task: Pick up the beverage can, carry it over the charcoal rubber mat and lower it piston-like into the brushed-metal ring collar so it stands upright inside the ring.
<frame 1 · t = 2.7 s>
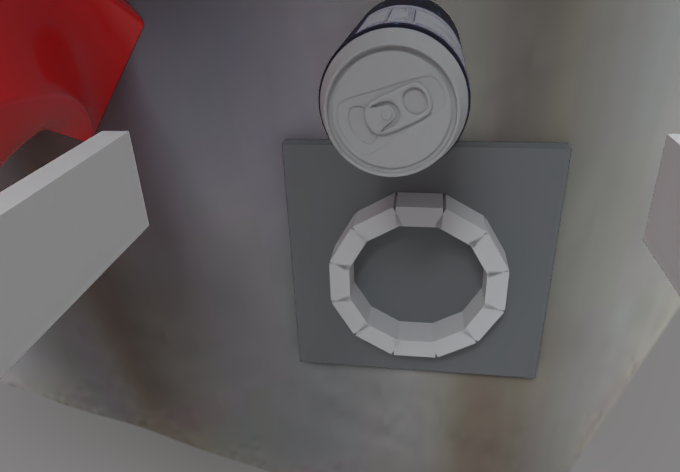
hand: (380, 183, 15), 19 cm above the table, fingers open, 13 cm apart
vase: (38, 26, 34), on the table
ring seat: (418, 261, 37), on the table
beverage can: (406, 50, 31), on the table
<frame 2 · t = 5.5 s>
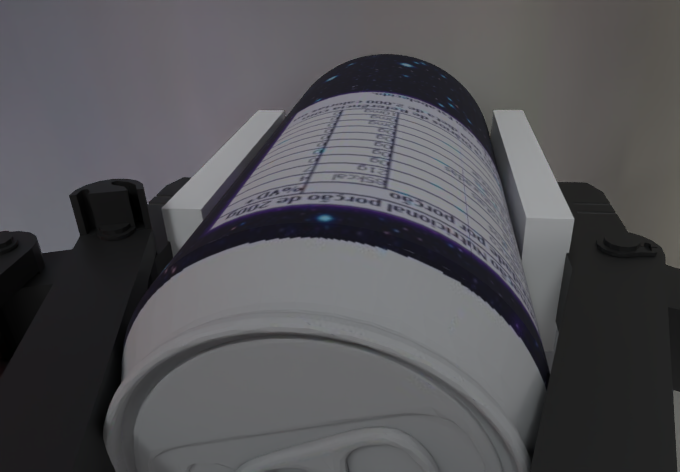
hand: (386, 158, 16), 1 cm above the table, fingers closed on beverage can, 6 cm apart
beverage can: (388, 146, 17), on the table, touching gripper
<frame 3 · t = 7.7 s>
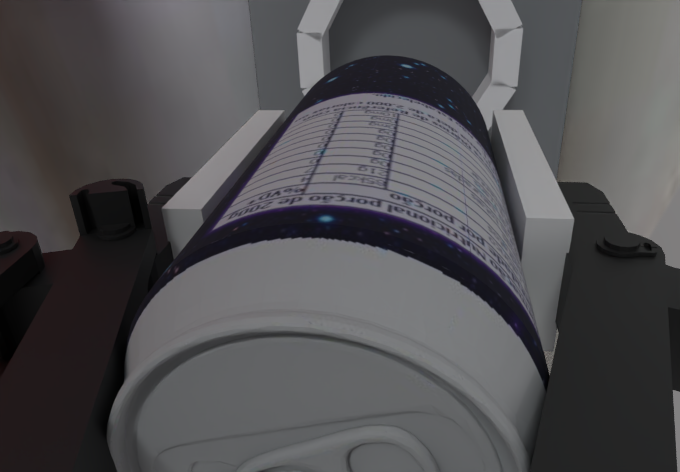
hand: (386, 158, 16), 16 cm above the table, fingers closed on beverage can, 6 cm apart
ring seat: (408, 47, 30), on the table
beverage can: (388, 146, 17), point 15 cm above the table, touching gripper
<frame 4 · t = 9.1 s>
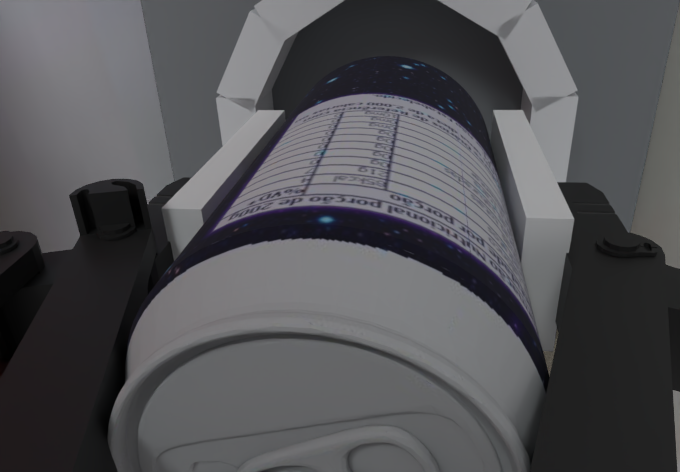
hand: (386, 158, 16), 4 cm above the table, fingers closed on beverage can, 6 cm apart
ring seat: (395, 112, 20), on the table
beverage can: (389, 147, 17), point 3 cm above the table, touching gripper
when the fingers open (4 cm above the table, at t = 9.9 s): beverage can drops 2 cm, resting on ring seat.
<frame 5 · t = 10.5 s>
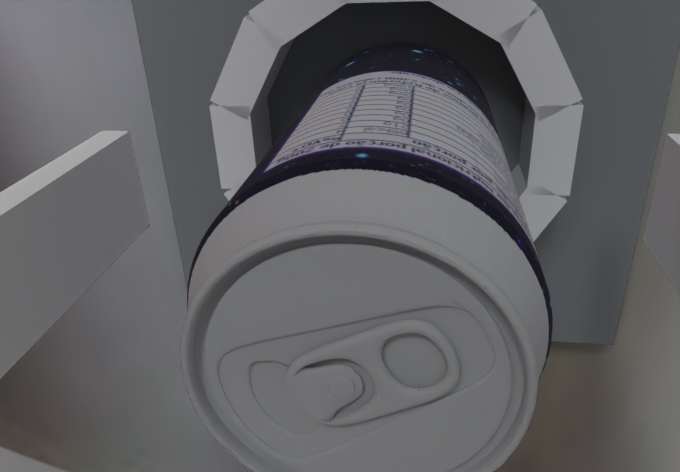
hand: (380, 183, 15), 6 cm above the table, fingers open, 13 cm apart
ring seat: (394, 120, 19), on the table
beverage can: (399, 129, 19), point 1 cm above the table, touching ring seat
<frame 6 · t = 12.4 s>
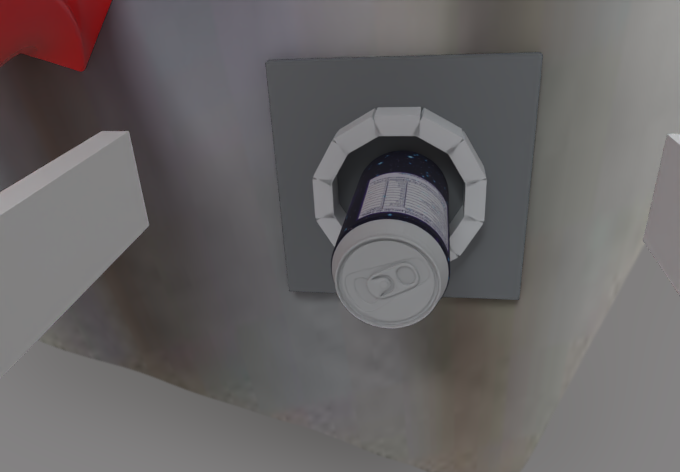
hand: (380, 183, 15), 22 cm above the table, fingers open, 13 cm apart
ring seat: (400, 182, 38), on the table
beverage can: (403, 187, 37), point 1 cm above the table, touching ring seat
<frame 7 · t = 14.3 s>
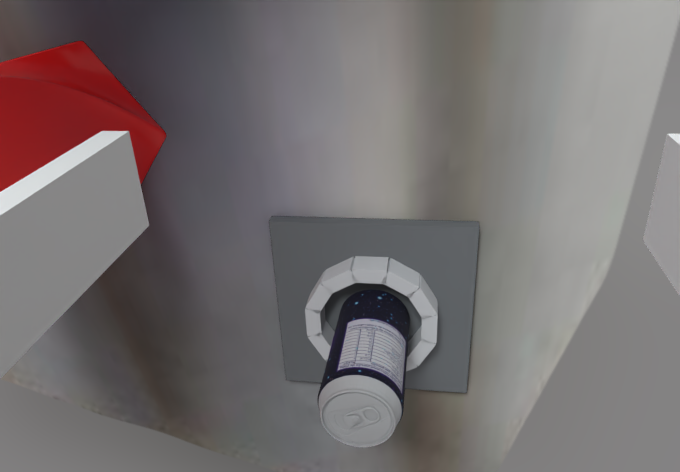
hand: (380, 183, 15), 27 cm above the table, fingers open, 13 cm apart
vase: (87, 135, 45), on the table
ring seat: (374, 304, 49), on the table
beverage can: (375, 310, 48), point 1 cm above the table, touching ring seat
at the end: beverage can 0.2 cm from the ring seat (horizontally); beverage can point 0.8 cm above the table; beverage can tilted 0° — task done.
